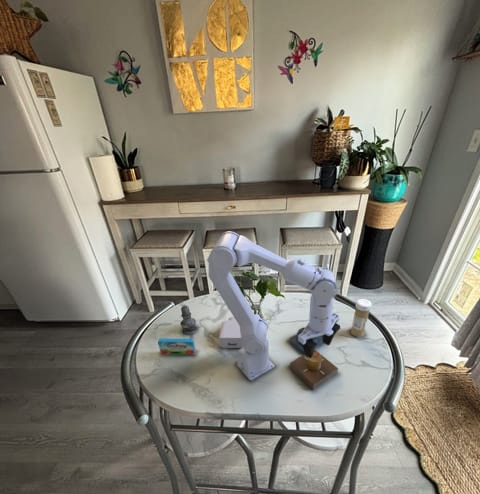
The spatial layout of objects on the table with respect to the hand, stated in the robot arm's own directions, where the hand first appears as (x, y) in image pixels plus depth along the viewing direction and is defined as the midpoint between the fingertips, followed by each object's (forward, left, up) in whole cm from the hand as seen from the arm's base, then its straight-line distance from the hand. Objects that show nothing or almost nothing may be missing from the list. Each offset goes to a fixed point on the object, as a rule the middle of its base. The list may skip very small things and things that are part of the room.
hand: (317, 349), depth 80 cm
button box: (+7, +10, -9) cm, 15 cm away
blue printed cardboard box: (-32, +32, -9) cm, 46 cm away
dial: (-1, 0, -6) cm, 6 cm away
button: (+7, +10, -6) cm, 14 cm away
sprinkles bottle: (+24, +3, -9) cm, 26 cm away
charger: (-11, +29, -9) cm, 32 cm away
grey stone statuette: (-24, +41, -9) cm, 49 cm away
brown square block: (-1, 0, -9) cm, 9 cm away
